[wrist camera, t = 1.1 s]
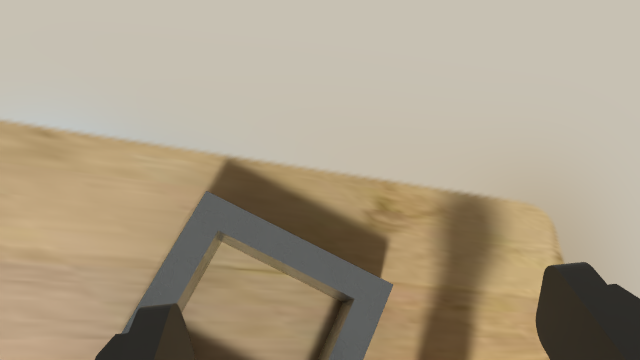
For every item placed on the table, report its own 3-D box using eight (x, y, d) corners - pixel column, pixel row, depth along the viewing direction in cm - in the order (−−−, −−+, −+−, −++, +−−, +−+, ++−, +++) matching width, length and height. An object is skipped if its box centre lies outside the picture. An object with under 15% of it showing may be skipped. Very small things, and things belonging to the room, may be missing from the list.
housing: (102, 390, 30) (81, 399, 26) (211, 205, 35) (206, 190, 31) (295, 488, 30) (301, 510, 26) (377, 289, 35) (393, 284, 31)
